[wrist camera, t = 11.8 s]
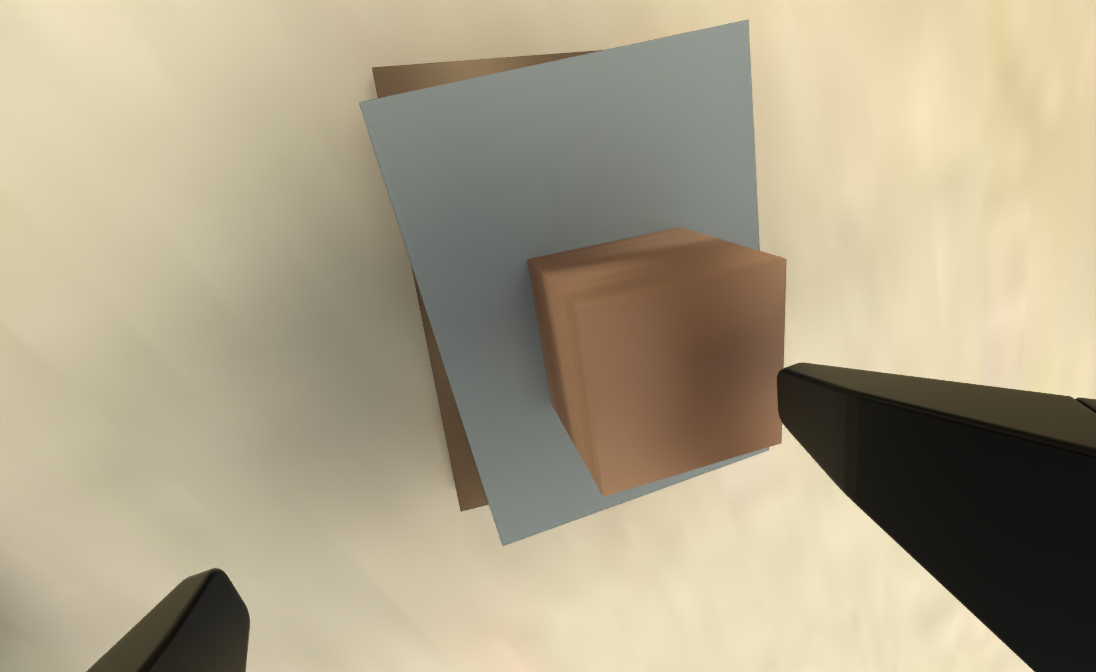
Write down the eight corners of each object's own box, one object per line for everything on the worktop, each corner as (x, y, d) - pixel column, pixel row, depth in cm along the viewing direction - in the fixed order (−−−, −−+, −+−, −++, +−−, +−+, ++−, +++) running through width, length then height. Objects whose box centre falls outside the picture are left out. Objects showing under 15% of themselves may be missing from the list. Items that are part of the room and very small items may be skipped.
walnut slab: (455, 475, 23) (460, 511, 21) (376, 77, 17) (371, 67, 15) (698, 418, 25) (727, 445, 23) (703, 51, 20) (742, 39, 17)
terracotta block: (551, 404, 17) (603, 497, 13) (526, 259, 15) (577, 307, 11) (687, 368, 18) (781, 443, 14) (680, 227, 16) (786, 258, 12)
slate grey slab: (492, 502, 21) (502, 546, 19) (366, 108, 15) (358, 102, 13) (733, 419, 23) (769, 450, 20) (702, 36, 17) (748, 19, 15)
